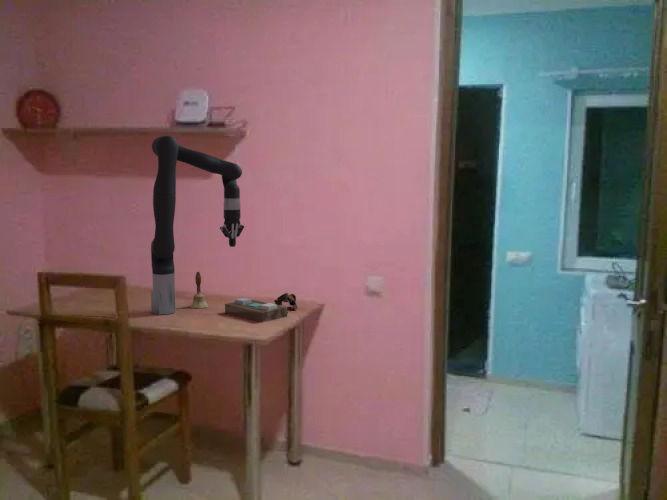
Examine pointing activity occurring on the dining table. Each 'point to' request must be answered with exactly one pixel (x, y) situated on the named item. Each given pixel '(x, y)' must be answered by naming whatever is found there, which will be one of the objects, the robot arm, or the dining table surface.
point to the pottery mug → (287, 300)
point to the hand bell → (198, 295)
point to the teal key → (254, 305)
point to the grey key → (243, 301)
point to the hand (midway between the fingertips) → (232, 246)
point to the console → (255, 311)
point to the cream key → (268, 306)
